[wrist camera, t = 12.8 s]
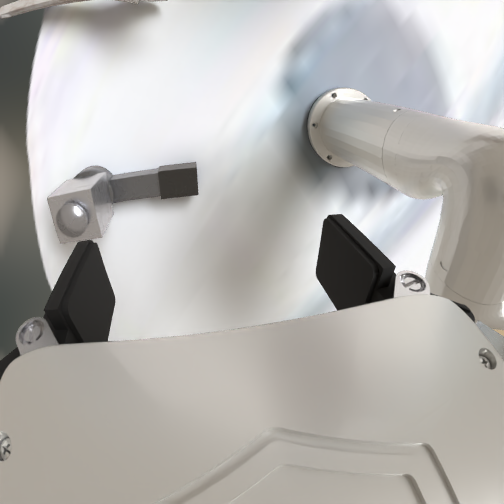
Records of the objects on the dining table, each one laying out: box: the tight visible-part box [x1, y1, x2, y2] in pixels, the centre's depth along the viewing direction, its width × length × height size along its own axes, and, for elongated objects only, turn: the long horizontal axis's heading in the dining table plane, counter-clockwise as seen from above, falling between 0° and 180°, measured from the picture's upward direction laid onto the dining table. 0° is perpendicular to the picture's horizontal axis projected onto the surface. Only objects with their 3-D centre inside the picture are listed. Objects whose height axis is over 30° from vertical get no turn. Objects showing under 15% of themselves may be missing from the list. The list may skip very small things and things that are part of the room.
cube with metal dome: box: [47, 172, 114, 244], centre depth 28 cm, size 6×6×8 cm
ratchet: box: [74, 162, 198, 205], centre depth 32 cm, size 18×7×8 cm, turn 90°
